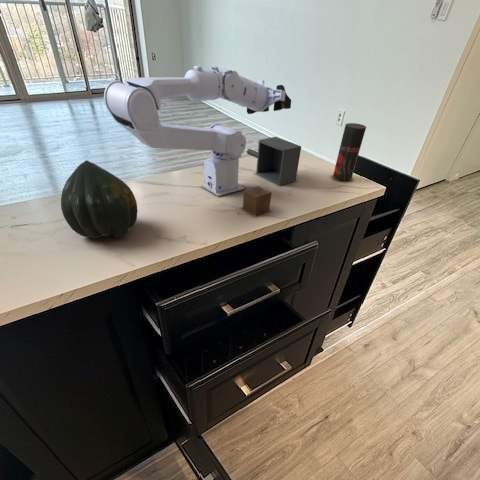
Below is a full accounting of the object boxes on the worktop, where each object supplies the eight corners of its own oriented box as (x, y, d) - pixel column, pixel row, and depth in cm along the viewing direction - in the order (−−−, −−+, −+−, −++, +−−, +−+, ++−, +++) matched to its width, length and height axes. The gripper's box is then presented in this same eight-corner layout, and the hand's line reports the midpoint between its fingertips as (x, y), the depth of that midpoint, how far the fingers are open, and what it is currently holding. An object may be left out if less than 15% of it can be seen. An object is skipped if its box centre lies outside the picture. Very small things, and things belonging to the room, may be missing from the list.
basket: (295, 181, 100) (279, 185, 96) (259, 164, 109) (244, 168, 105) (301, 146, 93) (284, 150, 89) (262, 131, 102) (246, 134, 98)
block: (255, 216, 81) (256, 197, 78) (242, 208, 84) (243, 190, 80) (269, 211, 84) (271, 192, 80) (256, 204, 86) (258, 185, 83)
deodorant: (353, 182, 101) (368, 129, 91) (334, 181, 101) (348, 127, 91) (348, 175, 105) (363, 123, 95) (331, 174, 105) (343, 122, 95)
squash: (111, 234, 61) (119, 155, 60) (40, 227, 63) (47, 150, 62) (143, 248, 75) (149, 184, 74) (84, 242, 77) (90, 180, 76)
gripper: (272, 69, 76) (302, 85, 85) (228, 79, 84) (260, 92, 94) (269, 104, 78) (298, 115, 88) (227, 110, 87) (258, 120, 97)
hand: (278, 105), depth 91 cm, fingers open, 7 cm apart
